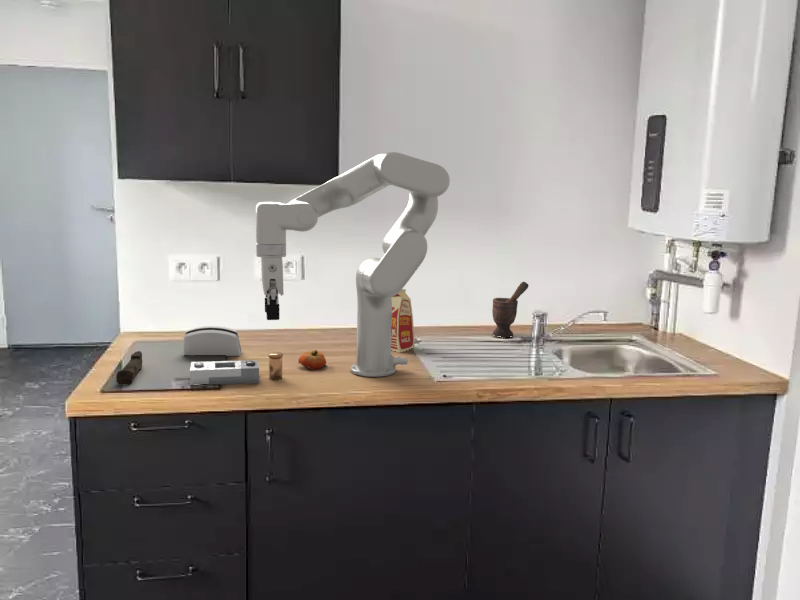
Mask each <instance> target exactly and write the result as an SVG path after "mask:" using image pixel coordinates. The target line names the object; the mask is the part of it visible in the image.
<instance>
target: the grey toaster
mask: <svg viewBox="0 0 800 600" xmlns="http://www.w3.org/2000/svg"><path fill="white" fill-rule="evenodd" d="M183 337H184V338H183V339H184V340H183V352H182V353H183V354H182V355H226V356H227V357H229V356H230V357H231V356H233V357H235V356H237V357H239V356H240V357H241V355H242V348H241V346H242V345H241V343H240V338H239V333H238V330H236V329H233V328H231V327H230V328H229V327H226V326H219V325H206V326H197V327H194V328H193V327H192V328H190V329H188V330H186V332H185V334H184V336H183ZM226 356H225V357H226Z"/></svg>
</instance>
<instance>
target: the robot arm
mask: <svg viewBox="0 0 800 600" xmlns="http://www.w3.org/2000/svg"><path fill="white" fill-rule="evenodd" d="M450 179H451V178H450V174H449V173H448V171H447V169H445V167H443V166H441V165H440V164H437V163H435V162H430V161H429V160H428V161H427V160H424V159H420V158H417V157H414V156H411V155H407V154H404V153H401V152H397V151H390V152H381V153H378V154H376V155H375V156H372V157H371V158H369V159H367V160H365V161H363V162H362V163H360V164H358V165H356V166H355V167H353V168H350V169H349V170H347V171H345V172H344V173H343V172H342V174H340V175H338V176H335V177H333V178H332V179H329V180H328V181H326V182H325V183H323V184H321V185H318V186H317V187H314V188H312V189H310V190H309V191H306V192H305V193H304V194H301V195H299V196H298V197H296V198H294V199H292V200H290V201H289V202H288V203H282V202H279V201H261V202H258V203H257V204H256V206H255V235H256V236H255V242H256V251H255V252H256V257H258V258H260V259H261V260H260V262H261V265H260V266H261V283H262V290H263V294H264V296H265V297H264V312H265V313H266V320H267V321H278V320H279V321H280V303H279V295H280V296H284V292H285V291H284V264H283V258H285V257H287V231H295V232H300V233H301V232H308V231H310V230H312V229H313V228H315V227H316V225H317V223H318V219H319V218H320V217H322V216H324V215H326V214H328V213H331V212H333V211H335V210H340V209H344V208H348V207H351V206H354V205H357V204H359V203H360V202H362V201H364V200H365V199H367V198H368V197H370V196H372V195H374V194H376V193H377V192H380V191H381V190H383V189H385V188H387V187H388V186H394V187H397V188H399V189H400V188H401V189H404V190H407V191H408V203H407V205H406V207H405V209H404V210H403V212H402V213H401V215H400V216H399V218H398V219H397V220H396V222H394V224H393V225H392V227H391V228H390V229H389V231H388V232H387V233H386V234H385V236H384V237H383V240H382V243H381V244H382V246H381V247H382V252H383V253H384V255H383V256H382V257H381V258H379V257H370V258H366V259H365V260H363V261H362V262H361V263H360V264H359V266H358V268H357V270H356V274H355V285H356V286H355V287H356V295H357V297H356V298H357V309H356V310H357V316H356V317H357V318H356V358H355V359H356V360H355V361H356V362H355V363H353V364H352V365H351V366H350V372H351V373H352V374H354V375H357V376H361V377H368V378H369V377H370V378H371V377H373V378H374V377H375V378H377V377H379V378H380V377H388V376H392V375H393V374H395V373H396V371H397V365H401V366H405V365H408V362H409V361H408V358H407V357H401V356H393V355H392V351H391V328H392V298H391V297H393V296H395V295H396V294H398V293H399V292H400V291H401V290H402V289H404V287H405V286H406V285H407V283H408V282H409V281H410V280H411V278H412V277H413V275H414V274H415V272H417V270H418V269H419V267H420V266H421V265H422V263H423V262H424V260H425V258H426V255H427V253H428V242H427V241H428V240H427V238H426V234H427V233H428V232H429V229H431V227H432V226H433V223H434V222H435V221H436V218H437V215H438V210H439V199H438V197H440V196H442V195H443V194H445V193H446V192H447V191H448V189H449V187H450V181H451V180H450Z"/></svg>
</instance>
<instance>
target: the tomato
mask: <svg viewBox="0 0 800 600" xmlns="http://www.w3.org/2000/svg"><path fill="white" fill-rule="evenodd" d="M327 363H328V362H327V360H326V357H325V355H324V353H322V352H320V351H318V350H317V349H314V350H311V351H305V352H303V353H302V354H301V355H300V357H299V358H298V362H297V364H300V365H302V366H303V367H305V368H309V369H310V370H312V371H316V370H319V369H321V368H322V367H324V366H326V364H327Z"/></svg>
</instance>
